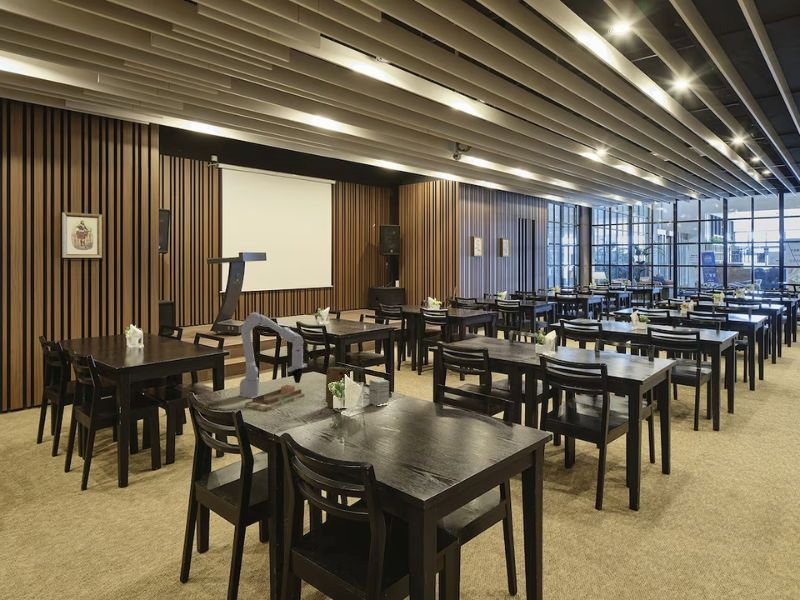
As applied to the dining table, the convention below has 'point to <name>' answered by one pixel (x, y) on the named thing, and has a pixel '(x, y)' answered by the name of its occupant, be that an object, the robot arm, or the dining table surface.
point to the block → (333, 376)
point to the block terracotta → (287, 389)
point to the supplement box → (378, 391)
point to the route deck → (274, 400)
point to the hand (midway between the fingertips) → (297, 382)
